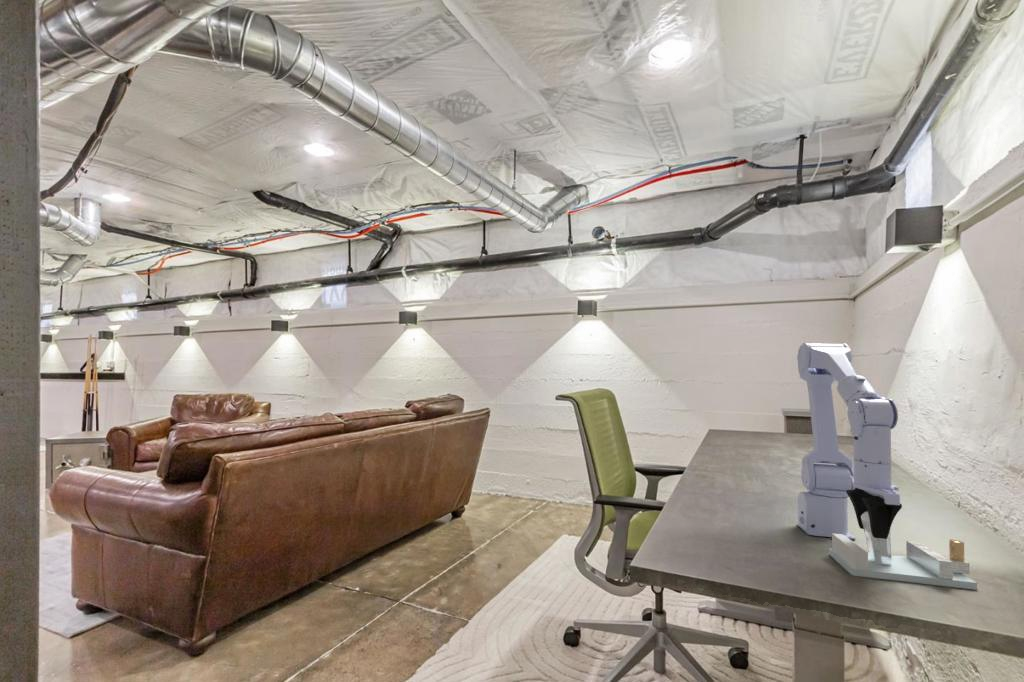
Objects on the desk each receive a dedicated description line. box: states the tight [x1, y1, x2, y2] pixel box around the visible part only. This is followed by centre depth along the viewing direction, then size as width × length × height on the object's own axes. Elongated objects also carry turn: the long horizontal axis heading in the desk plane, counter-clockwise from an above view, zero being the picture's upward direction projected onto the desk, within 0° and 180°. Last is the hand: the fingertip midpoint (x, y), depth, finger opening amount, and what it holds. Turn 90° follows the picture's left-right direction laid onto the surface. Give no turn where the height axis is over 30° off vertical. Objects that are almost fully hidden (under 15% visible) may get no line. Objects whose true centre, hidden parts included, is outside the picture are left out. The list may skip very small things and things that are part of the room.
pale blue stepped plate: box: [828, 533, 978, 591], centre depth 89 cm, size 19×10×4 cm, turn 77°
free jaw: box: [905, 539, 970, 579], centre depth 88 cm, size 6×10×5 cm, turn 167°
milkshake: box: [861, 511, 892, 565], centre depth 90 cm, size 5×5×10 cm
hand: (872, 533), depth 90 cm, fingers closed on milkshake, 4 cm apart
